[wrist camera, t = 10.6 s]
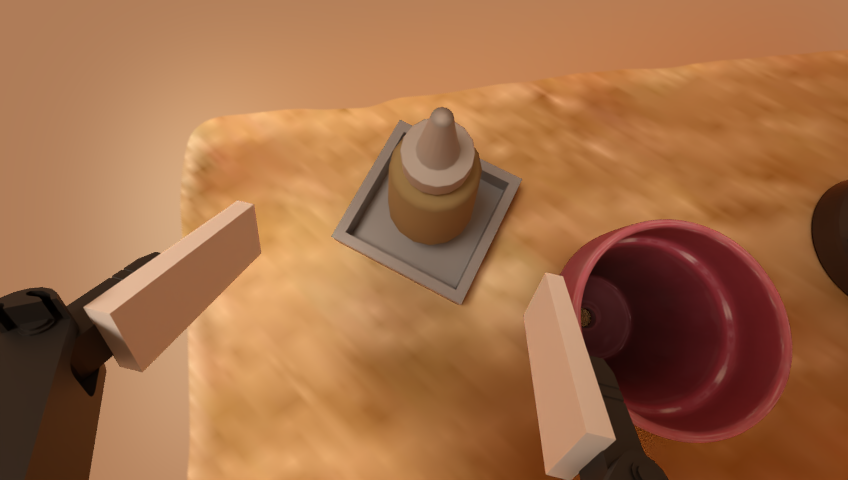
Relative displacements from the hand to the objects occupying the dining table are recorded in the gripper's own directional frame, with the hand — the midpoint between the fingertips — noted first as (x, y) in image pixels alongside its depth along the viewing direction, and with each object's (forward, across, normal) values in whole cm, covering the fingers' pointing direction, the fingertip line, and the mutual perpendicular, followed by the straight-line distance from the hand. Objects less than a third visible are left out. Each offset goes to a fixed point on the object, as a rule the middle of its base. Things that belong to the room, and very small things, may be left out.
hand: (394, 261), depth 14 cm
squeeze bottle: (+18, 0, -8) cm, 20 cm away
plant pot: (+14, +18, -13) cm, 26 cm away
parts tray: (+19, 0, -8) cm, 20 cm away
